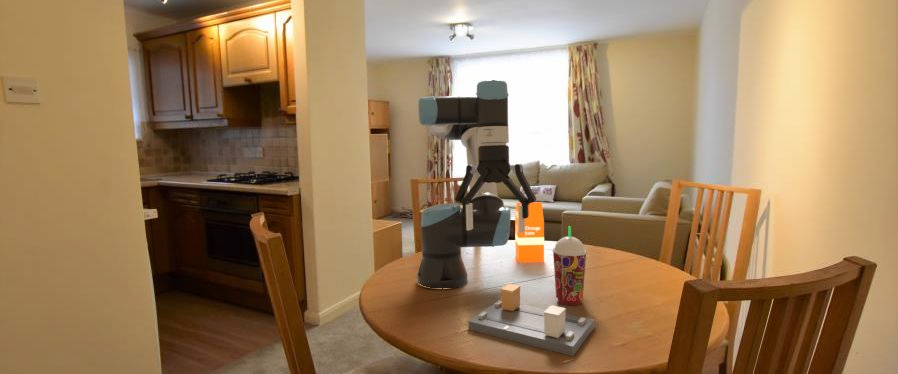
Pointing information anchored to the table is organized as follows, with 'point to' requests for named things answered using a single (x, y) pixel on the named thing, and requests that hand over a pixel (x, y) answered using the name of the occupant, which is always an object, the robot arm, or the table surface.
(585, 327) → the fader console
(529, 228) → the orange juice
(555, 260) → the smoothie
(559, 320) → the cream fader
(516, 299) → the orange fader
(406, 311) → the table surface
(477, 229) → the robot arm
